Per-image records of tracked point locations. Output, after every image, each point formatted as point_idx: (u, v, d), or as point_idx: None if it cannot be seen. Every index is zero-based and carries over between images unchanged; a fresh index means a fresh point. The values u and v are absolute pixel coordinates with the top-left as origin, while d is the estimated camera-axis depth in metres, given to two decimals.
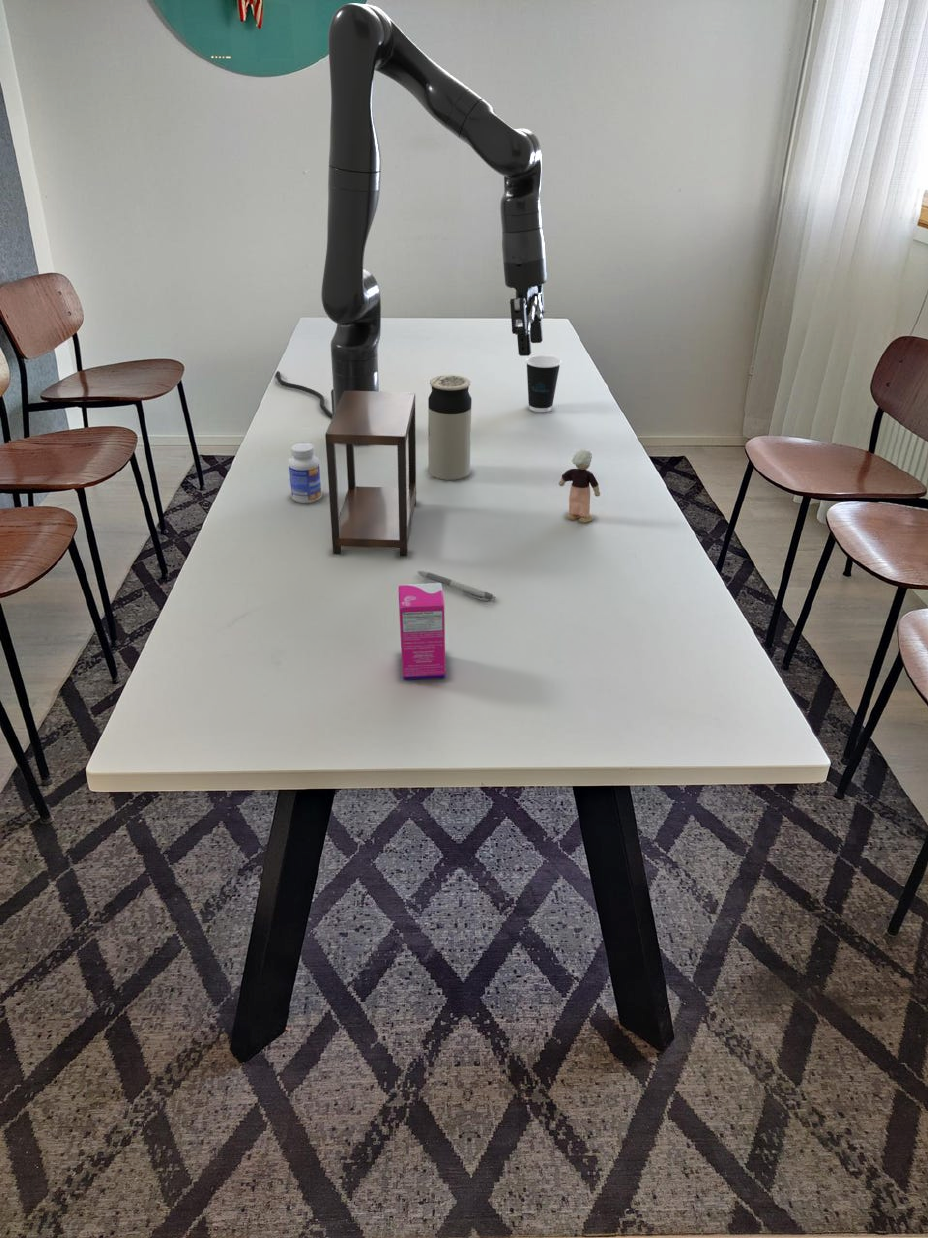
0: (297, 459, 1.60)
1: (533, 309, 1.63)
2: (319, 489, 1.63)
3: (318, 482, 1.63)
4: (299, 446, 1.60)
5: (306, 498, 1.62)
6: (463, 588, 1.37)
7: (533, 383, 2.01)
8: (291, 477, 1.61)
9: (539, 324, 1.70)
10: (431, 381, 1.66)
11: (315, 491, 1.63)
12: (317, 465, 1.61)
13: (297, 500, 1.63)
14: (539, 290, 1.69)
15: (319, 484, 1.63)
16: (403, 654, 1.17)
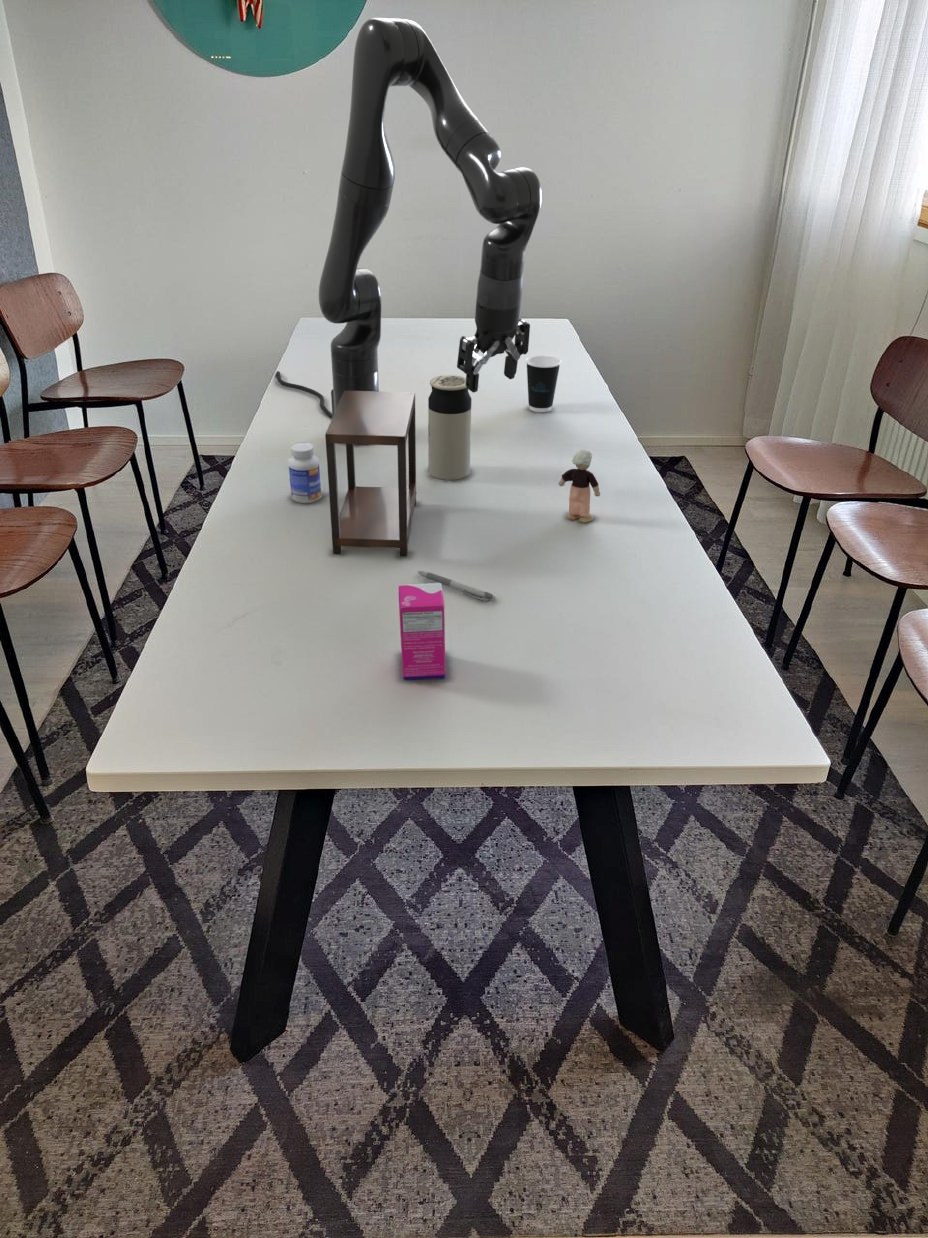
0: (297, 459, 1.60)
1: (489, 352, 1.56)
2: (319, 489, 1.63)
3: (318, 482, 1.63)
4: (299, 446, 1.60)
5: (306, 498, 1.62)
6: (463, 588, 1.37)
7: (533, 383, 2.01)
8: (291, 477, 1.61)
9: (512, 362, 1.63)
10: (431, 381, 1.66)
11: (315, 491, 1.63)
12: (317, 465, 1.61)
13: (297, 500, 1.63)
14: (523, 330, 1.59)
15: (319, 484, 1.63)
16: (403, 654, 1.17)
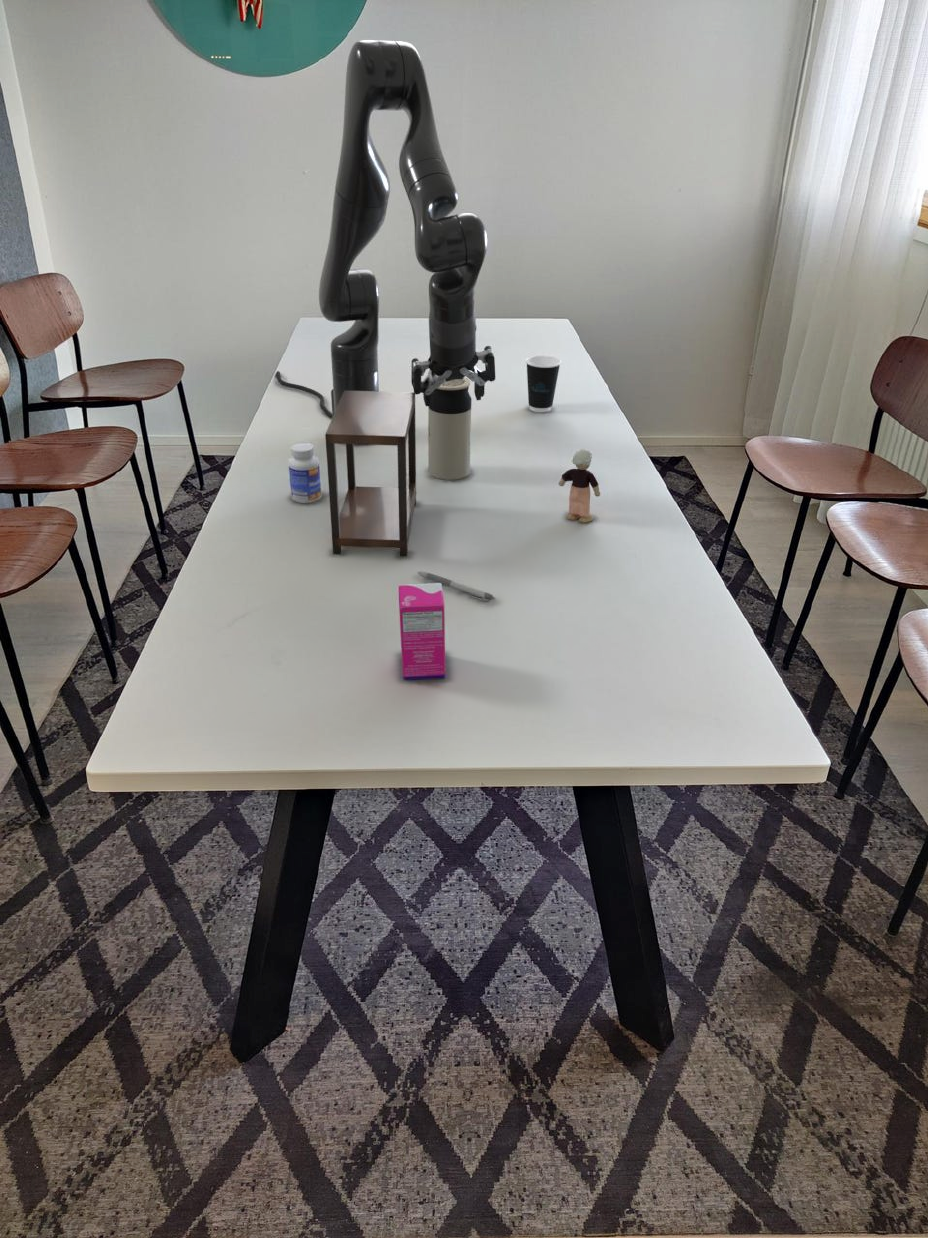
0: (297, 459, 1.60)
1: (441, 379, 1.53)
2: (319, 489, 1.63)
3: (318, 482, 1.63)
4: (299, 446, 1.60)
5: (306, 498, 1.62)
6: (463, 589, 1.37)
7: (533, 383, 2.01)
8: (291, 477, 1.61)
9: (476, 386, 1.58)
10: None
11: (315, 491, 1.63)
12: (317, 465, 1.61)
13: (297, 500, 1.63)
14: (487, 360, 1.53)
15: (319, 484, 1.63)
16: (403, 654, 1.17)
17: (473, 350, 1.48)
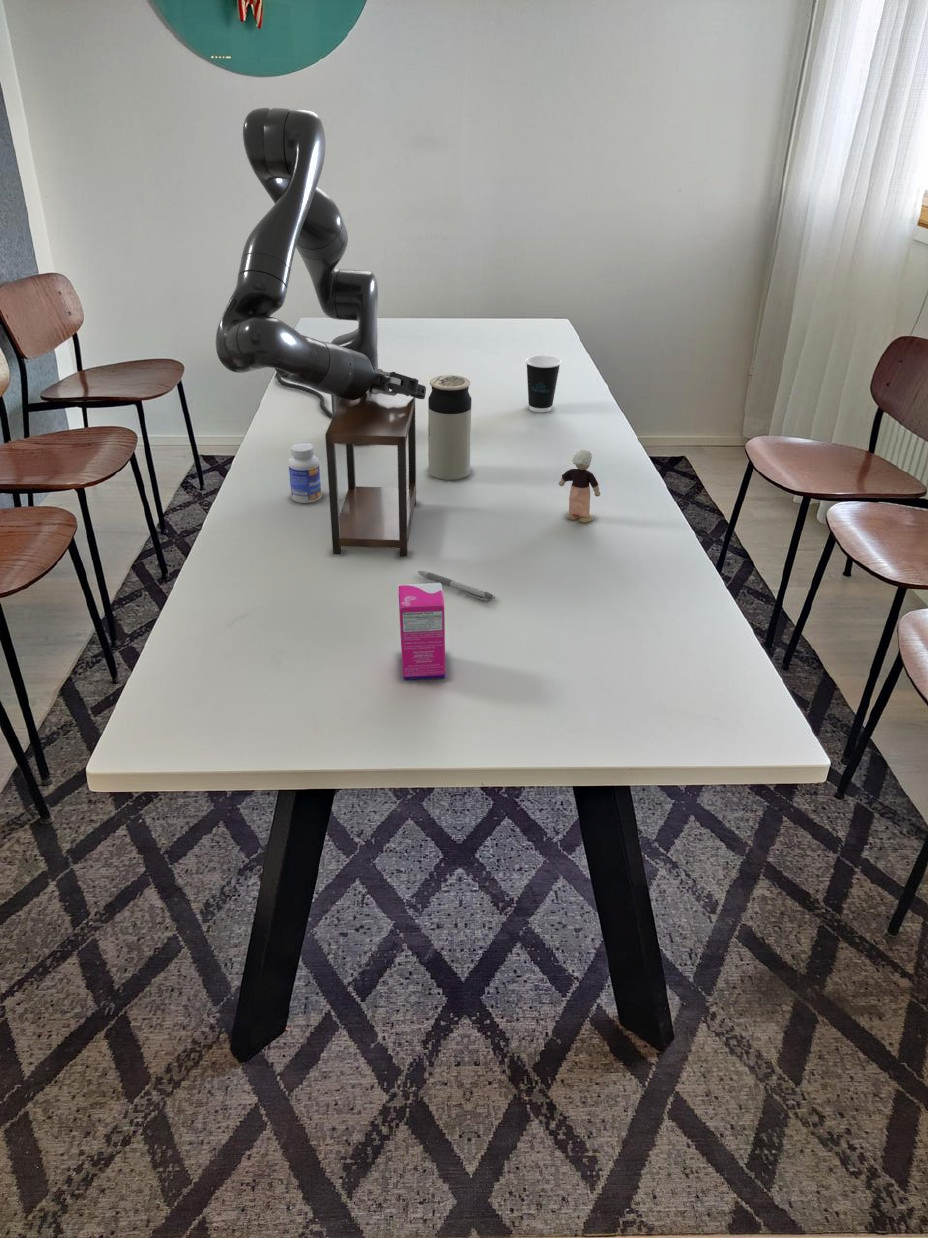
0: (297, 459, 1.60)
1: None
2: (319, 489, 1.63)
3: (318, 482, 1.63)
4: (299, 446, 1.60)
5: (306, 498, 1.62)
6: (463, 588, 1.37)
7: (533, 383, 2.01)
8: (291, 477, 1.61)
9: None
10: (431, 381, 1.66)
11: (315, 491, 1.63)
12: (317, 465, 1.61)
13: (297, 500, 1.63)
14: None
15: (319, 484, 1.63)
16: (403, 654, 1.17)
17: (359, 389, 1.43)
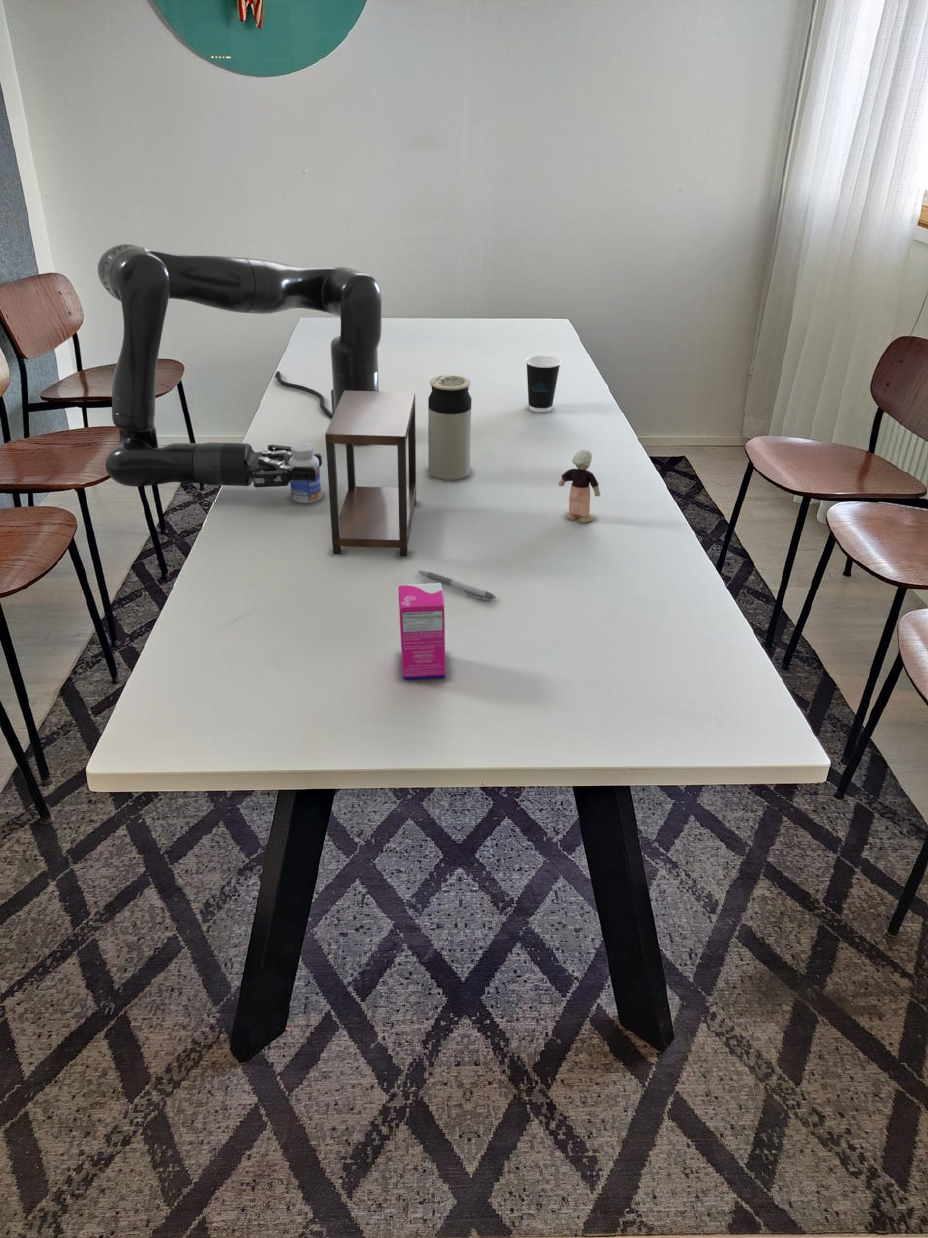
0: (297, 459, 1.60)
1: None
2: (319, 489, 1.63)
3: (318, 482, 1.63)
4: (299, 446, 1.60)
5: (306, 498, 1.62)
6: (464, 588, 1.37)
7: (533, 383, 2.01)
8: None
9: None
10: (431, 381, 1.66)
11: (315, 492, 1.63)
12: (317, 465, 1.61)
13: (297, 500, 1.63)
14: None
15: (319, 484, 1.63)
16: (403, 654, 1.17)
17: (237, 483, 1.61)
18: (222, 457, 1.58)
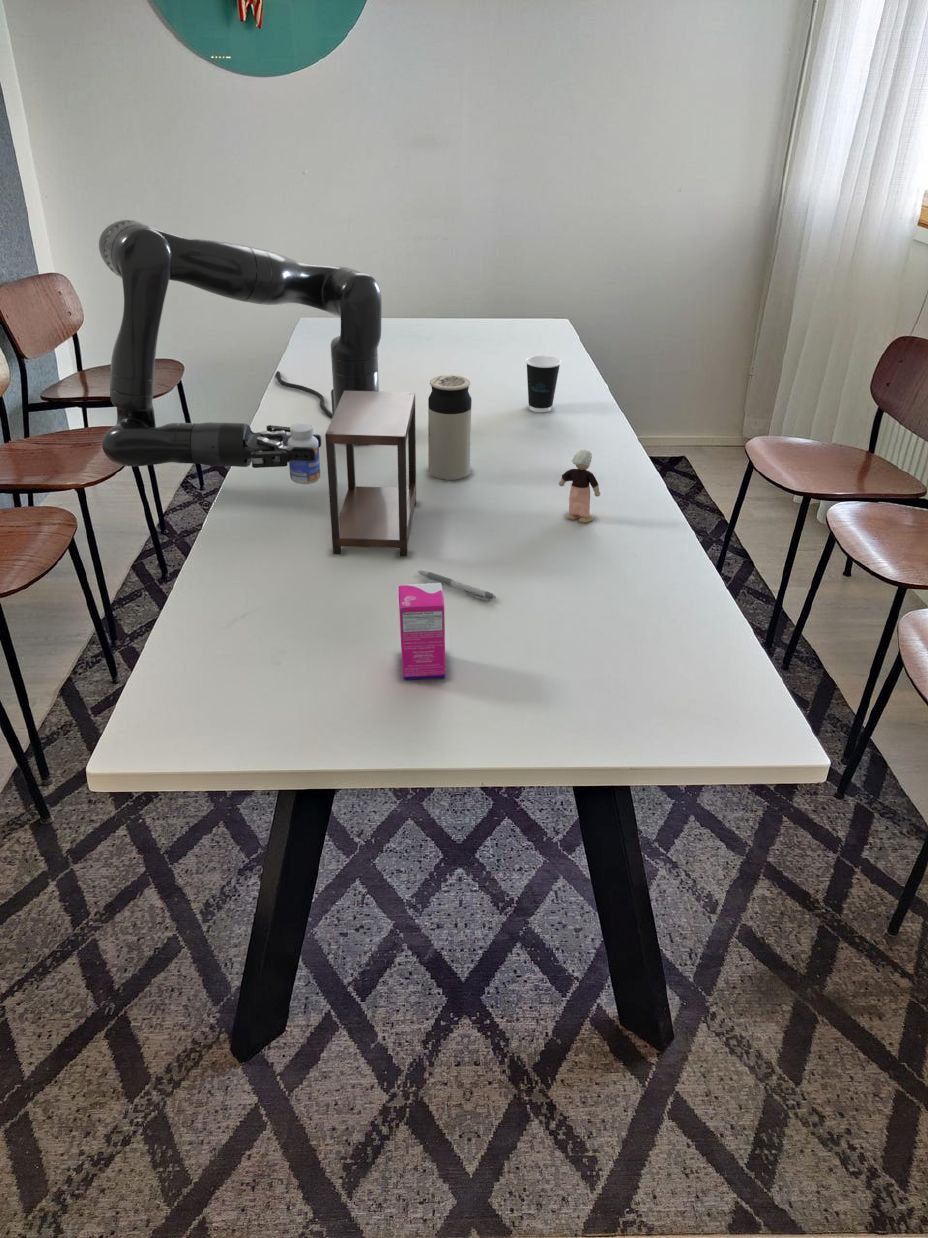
0: (296, 439, 1.58)
1: None
2: (318, 470, 1.62)
3: (317, 463, 1.61)
4: (298, 426, 1.58)
5: (305, 479, 1.60)
6: (464, 588, 1.37)
7: (533, 383, 2.01)
8: None
9: None
10: (431, 381, 1.66)
11: (314, 473, 1.61)
12: (316, 446, 1.59)
13: (296, 481, 1.61)
14: None
15: (318, 465, 1.61)
16: (403, 654, 1.17)
17: (235, 463, 1.59)
18: (220, 437, 1.57)
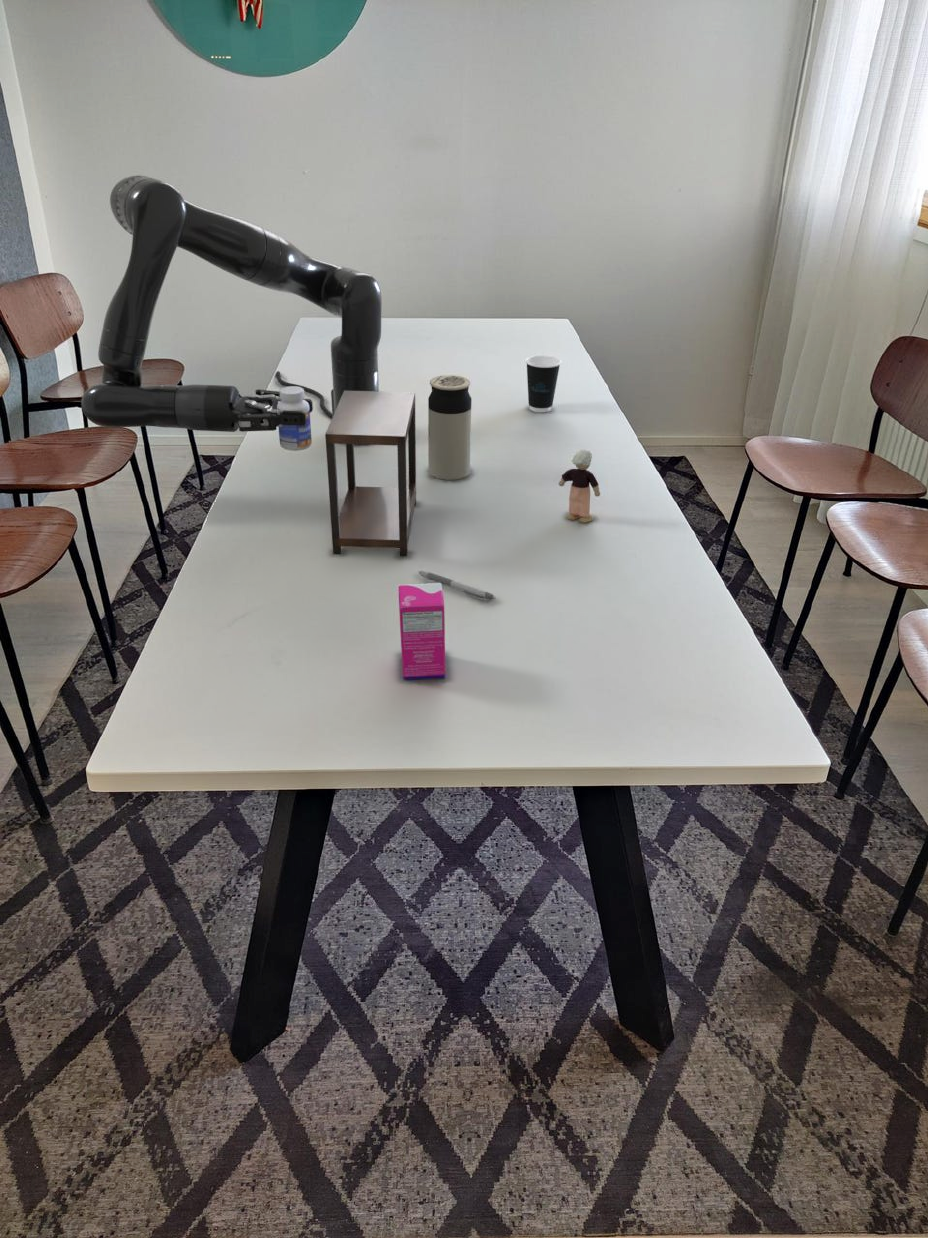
0: (285, 402, 1.50)
1: None
2: (309, 436, 1.54)
3: (308, 428, 1.53)
4: (288, 389, 1.50)
5: (295, 445, 1.53)
6: (464, 588, 1.37)
7: (533, 383, 2.01)
8: None
9: None
10: (431, 381, 1.66)
11: (305, 438, 1.53)
12: (307, 410, 1.51)
13: (285, 447, 1.53)
14: None
15: (309, 431, 1.53)
16: (403, 654, 1.17)
17: (222, 428, 1.51)
18: (206, 399, 1.49)
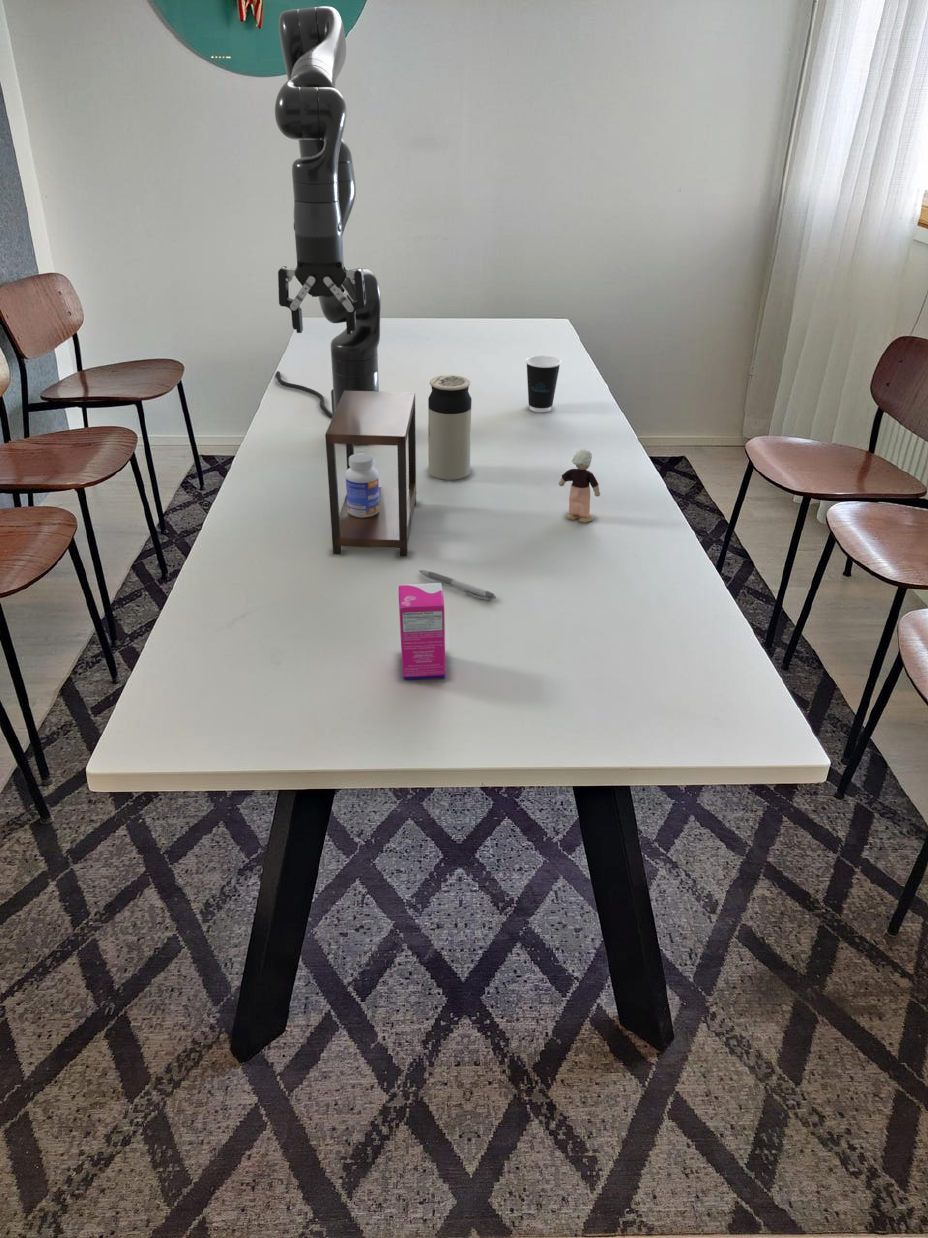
0: (355, 471, 1.48)
1: (305, 288, 1.49)
2: (378, 503, 1.52)
3: (377, 495, 1.51)
4: (357, 457, 1.49)
5: (364, 512, 1.51)
6: (464, 587, 1.37)
7: (533, 383, 2.01)
8: (348, 490, 1.50)
9: (345, 313, 1.52)
10: (431, 381, 1.66)
11: (374, 505, 1.51)
12: (376, 477, 1.50)
13: (354, 514, 1.52)
14: (354, 278, 1.49)
15: (378, 497, 1.52)
16: (403, 654, 1.17)
17: (335, 252, 1.46)
18: None
